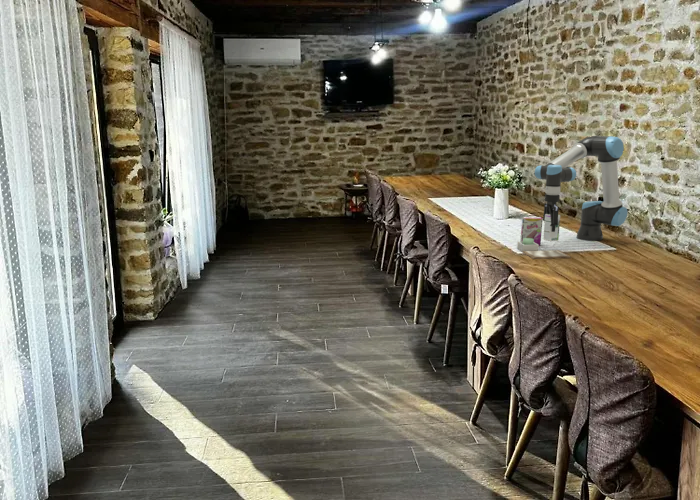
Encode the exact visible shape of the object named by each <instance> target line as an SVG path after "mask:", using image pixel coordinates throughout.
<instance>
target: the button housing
mask: <svg viewBox="0 0 700 500" xmlns="http://www.w3.org/2000/svg"><path fill="white" fill-rule="evenodd" d="M516 245H517V246H516V249H517V250H519V251H521V253H523V251H540V250H539V246H540V245H538V244H536V243H535V242H534V245H524V244H523V242H520V241H517V244H516Z"/></svg>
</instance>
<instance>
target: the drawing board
mask: <svg viewBox="0 0 700 500" xmlns="http://www.w3.org/2000/svg"><path fill="white" fill-rule="evenodd" d="M522 253H523V254H525V255H526V256H527V257H528V258H531V259H532V260H545V259H547V260H548V259H551V260H553V258H555V259H571V258H572V257H571V256H570V255H568V254H567V253H564V252H563V251H561V250H560V249H559V250H558V249H557V250H556V249H555V250H554V249H552V250H550V249H549V250H538V251H523V252H522Z"/></svg>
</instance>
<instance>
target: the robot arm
mask: <svg viewBox="0 0 700 500" xmlns="http://www.w3.org/2000/svg"><path fill="white" fill-rule="evenodd" d="M624 147H625V146H624V142H623V140H622V139H621V138H620V137H618V136H612V135H611V136H610V135H609V136H606V135H604V136H603V135H591V136H587V137H585V138H583V139H581V140H578V141H577V142H575V143H574V144H573V145H572V147H571V148H570V149H568V150H566V151H565V152H563V153H562V154H560V155H559V156H557V157H556V158H554V159H553V160H551V161H549V162H548V163H546V164H545V165H537V166H536V167H535V169H534V176H535V178H537V179H539V180H545V188H544V191H545V192H544V193H545V194H544V201H545V203H543V206H544V208H543V215H542V216H543V217H542V219H543V221H542V222H543V223H544V222H545V214H550V216H551V225H550V235H549V237H550V238H555V228H556V225H558V214H559V209H560V207H559V206H558V205H557V203H558V202H560V194H561V188H562V187H561V186H562V185H561V183H565V182H567V183H568V182H569V183H570V182H572V181H574V180H575V179H576V178H577V171H576V169H575V168H573V167H569V166H570V165H572V164H574V163H575V162H576V161H578V160H579V159H584V158H586V157H597V161H598V163H600V170H601V171H600V172H601V183H602V196H603V201H601V200H594V201H593V200H591V201H590V200H589V201H584V202H583V203H582V207H581V217H580V226H579V228H578V231H577V232H576V238H577V239H579V240H584V241H591V242H593V241H602V240H603V239H604V235H603V234H604V233H603V229H602V224H603V225H608V226H612V227H613V226H615V227H620V226H621V225H623V224H624V223H625V221H626V220H627V216H628V209H627V207H625V206H623V201H622V200H621V199H620V189H619V188H620V187H619V176H618V175H619V173H618V161H620V159H621V157H622V155H624V149H625V148H624Z"/></svg>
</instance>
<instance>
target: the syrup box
mask: <svg viewBox="0 0 700 500" xmlns="http://www.w3.org/2000/svg"><path fill="white" fill-rule="evenodd" d="M560 223H561V214H559V213H558V225H556V228H555V238H550V237H549V235H550V225H551V216H550V214H545V222H544V221H543V224H544V225H543V238H542V239H543V240H544V241H547V242H558V241H559V239H560V238H559V237H560Z"/></svg>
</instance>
